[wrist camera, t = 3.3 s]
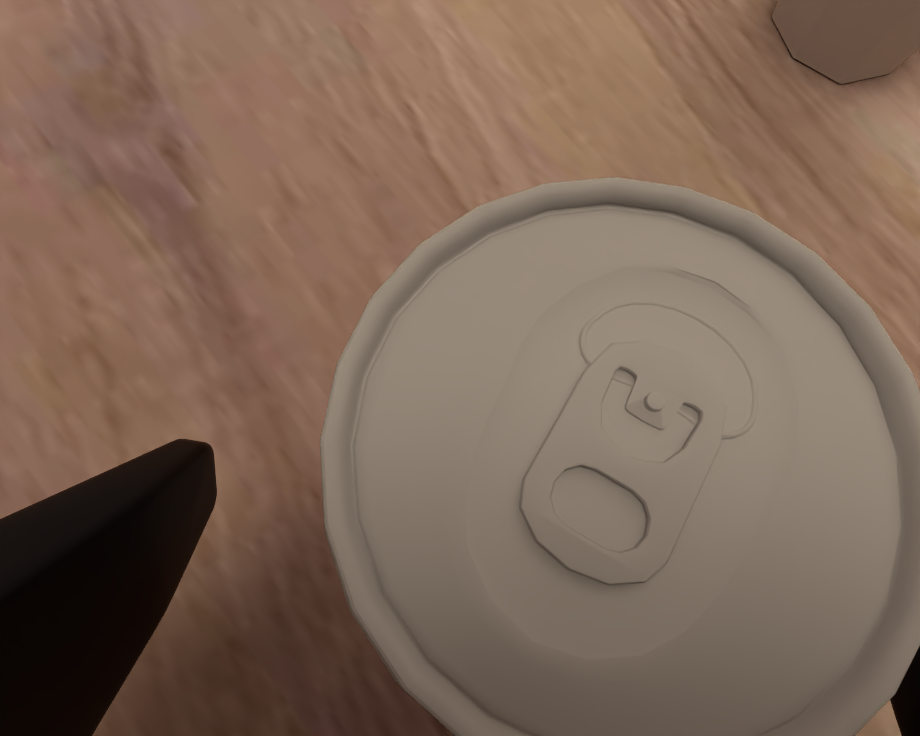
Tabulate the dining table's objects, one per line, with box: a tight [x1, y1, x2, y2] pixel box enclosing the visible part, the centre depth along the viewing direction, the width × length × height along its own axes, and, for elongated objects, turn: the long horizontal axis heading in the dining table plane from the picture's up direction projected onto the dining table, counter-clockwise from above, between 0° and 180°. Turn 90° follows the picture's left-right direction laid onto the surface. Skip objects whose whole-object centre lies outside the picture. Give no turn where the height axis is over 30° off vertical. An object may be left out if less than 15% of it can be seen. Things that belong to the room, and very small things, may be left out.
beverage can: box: [320, 177, 920, 736], centre depth 10 cm, size 5×5×12 cm
